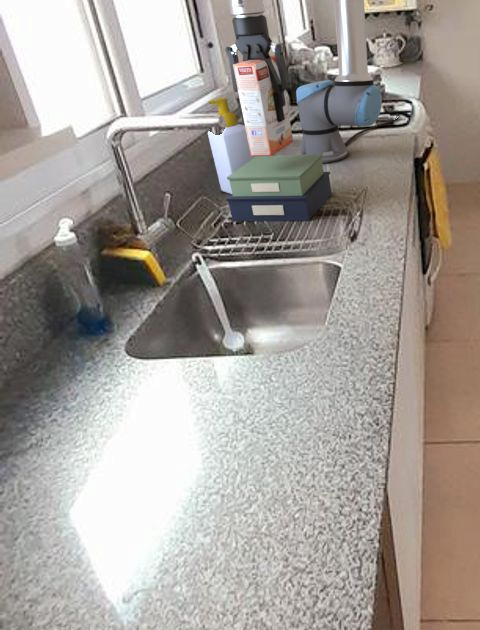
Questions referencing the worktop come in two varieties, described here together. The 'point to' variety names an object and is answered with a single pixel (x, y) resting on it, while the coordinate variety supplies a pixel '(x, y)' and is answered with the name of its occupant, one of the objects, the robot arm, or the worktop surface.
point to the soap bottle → (229, 145)
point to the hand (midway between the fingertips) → (268, 120)
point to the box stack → (279, 188)
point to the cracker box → (261, 108)
